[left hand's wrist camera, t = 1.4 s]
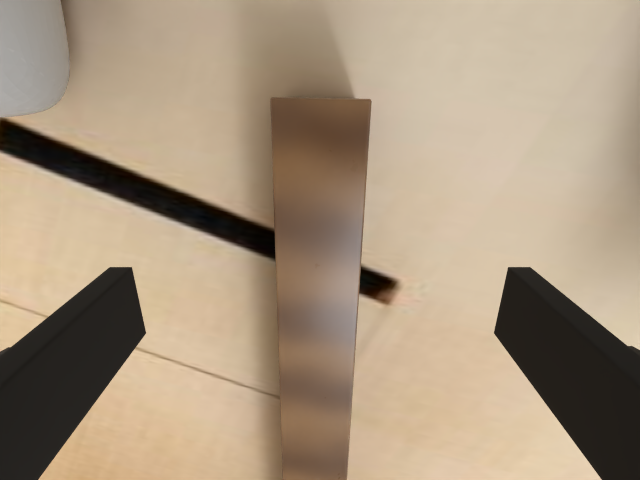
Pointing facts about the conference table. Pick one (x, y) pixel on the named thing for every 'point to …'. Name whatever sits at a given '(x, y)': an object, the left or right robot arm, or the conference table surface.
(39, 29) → the projector
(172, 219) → the conference table surface
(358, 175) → the bar
